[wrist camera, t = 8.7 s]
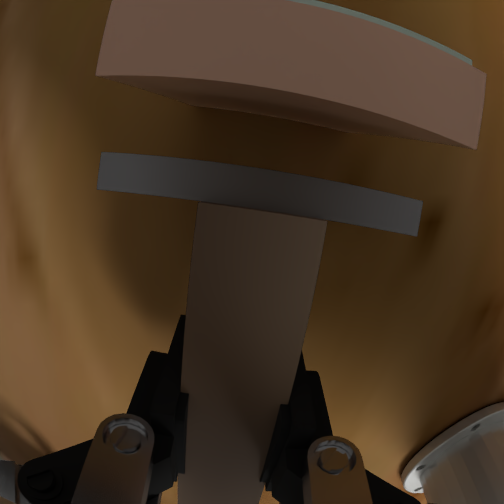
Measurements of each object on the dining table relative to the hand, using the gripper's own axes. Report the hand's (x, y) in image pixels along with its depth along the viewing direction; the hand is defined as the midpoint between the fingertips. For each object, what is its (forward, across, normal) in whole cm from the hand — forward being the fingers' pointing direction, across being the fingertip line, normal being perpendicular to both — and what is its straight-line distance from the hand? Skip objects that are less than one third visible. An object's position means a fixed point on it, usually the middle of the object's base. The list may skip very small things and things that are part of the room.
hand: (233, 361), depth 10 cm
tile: (+4, 0, -8) cm, 9 cm away
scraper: (+1, 0, 0) cm, 1 cm away
